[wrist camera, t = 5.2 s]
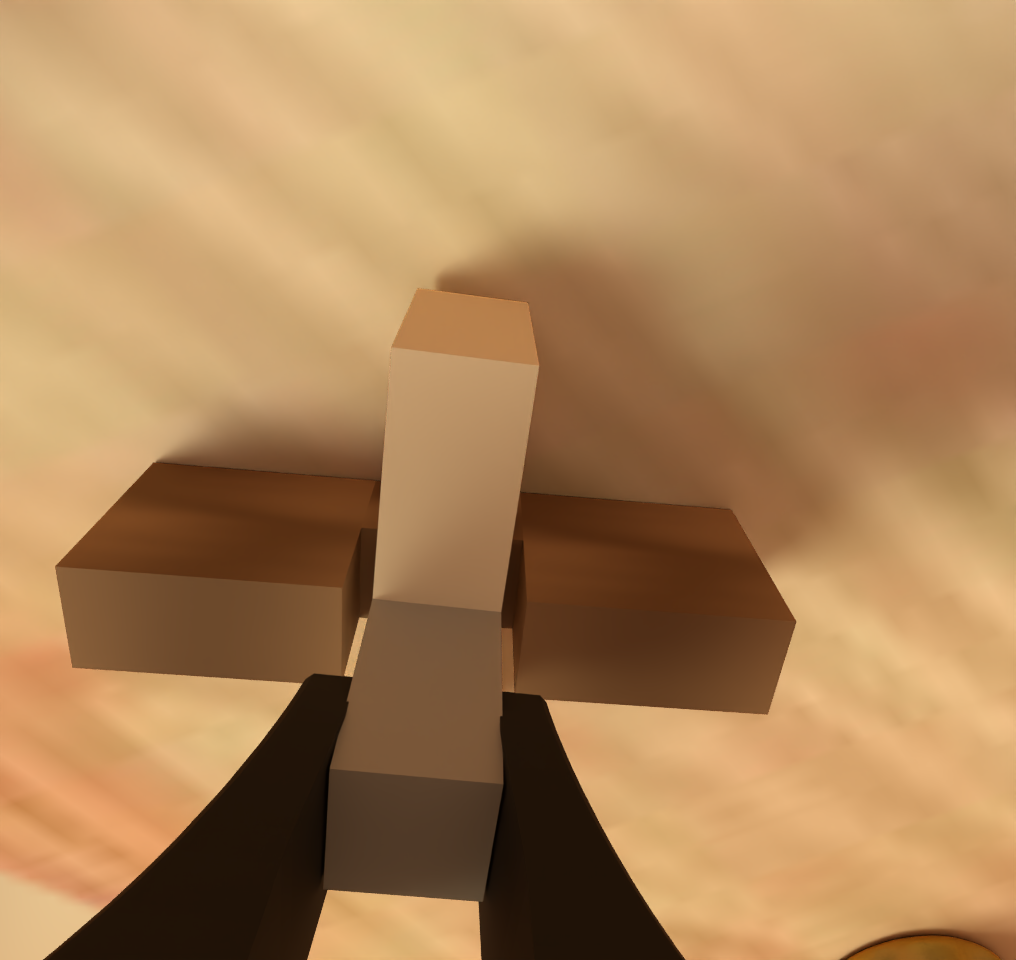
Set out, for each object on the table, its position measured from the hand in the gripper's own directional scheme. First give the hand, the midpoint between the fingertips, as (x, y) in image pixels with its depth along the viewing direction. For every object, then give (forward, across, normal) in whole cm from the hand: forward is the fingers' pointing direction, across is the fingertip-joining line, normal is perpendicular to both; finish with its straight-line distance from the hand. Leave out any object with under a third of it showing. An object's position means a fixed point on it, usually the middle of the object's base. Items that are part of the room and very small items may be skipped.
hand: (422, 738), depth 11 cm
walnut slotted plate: (+6, 0, 0) cm, 6 cm away
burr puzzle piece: (+6, 0, 0) cm, 6 cm away
